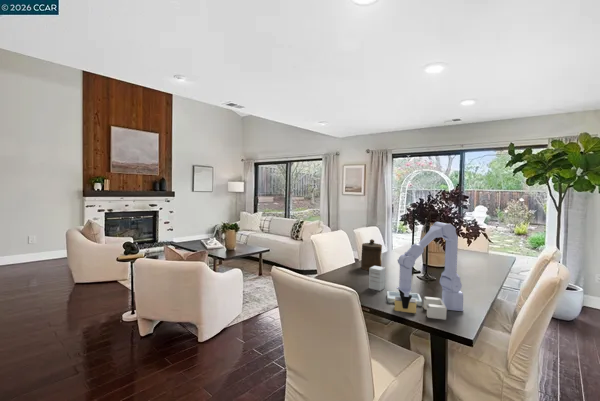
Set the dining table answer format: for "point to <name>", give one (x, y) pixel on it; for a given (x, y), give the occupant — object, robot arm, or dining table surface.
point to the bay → (435, 308)
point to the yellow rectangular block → (411, 305)
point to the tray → (393, 294)
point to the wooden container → (371, 255)
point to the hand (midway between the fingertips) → (404, 306)
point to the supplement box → (377, 278)
